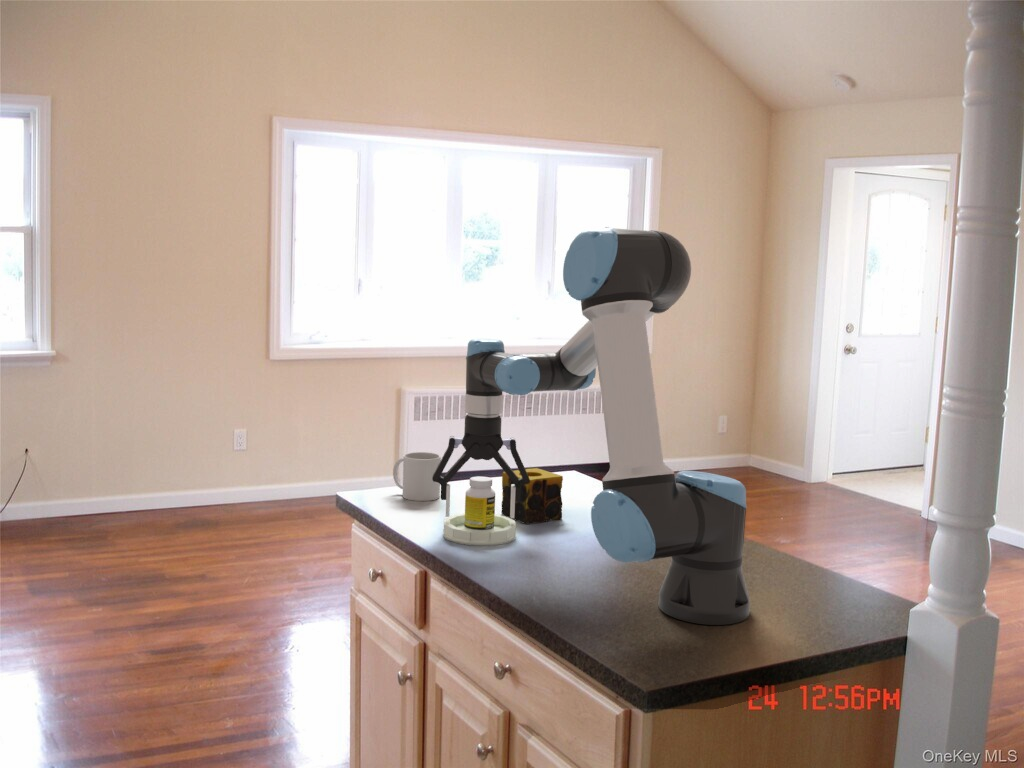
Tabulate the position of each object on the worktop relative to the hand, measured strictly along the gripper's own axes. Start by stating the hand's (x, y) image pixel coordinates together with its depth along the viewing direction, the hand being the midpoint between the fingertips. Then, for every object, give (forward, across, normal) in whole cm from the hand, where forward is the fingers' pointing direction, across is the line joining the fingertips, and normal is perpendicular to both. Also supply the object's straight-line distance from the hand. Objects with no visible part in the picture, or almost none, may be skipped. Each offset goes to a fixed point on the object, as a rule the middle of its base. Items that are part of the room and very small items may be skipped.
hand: (479, 516), depth 209 cm
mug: (+4, +14, -33) cm, 36 cm away
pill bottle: (+3, 0, 0) cm, 3 cm away
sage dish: (+4, 0, 0) cm, 4 cm away
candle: (+4, -12, -16) cm, 20 cm away
